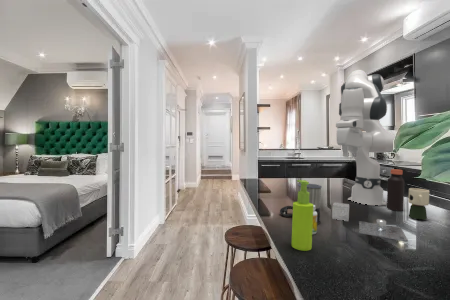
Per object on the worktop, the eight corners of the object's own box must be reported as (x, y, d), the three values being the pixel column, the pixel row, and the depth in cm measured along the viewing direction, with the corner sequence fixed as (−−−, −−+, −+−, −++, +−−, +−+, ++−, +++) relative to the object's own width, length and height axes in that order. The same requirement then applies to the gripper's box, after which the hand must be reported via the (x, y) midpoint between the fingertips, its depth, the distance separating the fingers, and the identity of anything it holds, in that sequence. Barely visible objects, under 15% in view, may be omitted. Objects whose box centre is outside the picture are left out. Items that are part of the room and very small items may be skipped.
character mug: (405, 214, 114) (407, 186, 114) (425, 217, 110) (427, 188, 110) (409, 220, 105) (410, 190, 104) (430, 223, 101) (432, 192, 101)
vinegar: (406, 211, 120) (408, 170, 119) (392, 210, 120) (394, 170, 119) (396, 207, 127) (398, 169, 126) (383, 207, 127) (385, 168, 126)
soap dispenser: (306, 241, 78) (308, 179, 78) (314, 251, 72) (317, 182, 71) (288, 241, 78) (290, 178, 78) (294, 250, 71) (297, 182, 71)
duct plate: (359, 222, 100) (359, 212, 100) (400, 229, 93) (401, 218, 93) (359, 233, 88) (360, 221, 87) (407, 241, 81) (408, 229, 81)
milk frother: (322, 226, 94) (324, 187, 93) (280, 222, 97) (281, 185, 97) (316, 215, 108) (317, 182, 107) (279, 212, 111) (280, 180, 111)
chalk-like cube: (333, 215, 109) (333, 202, 109) (348, 217, 106) (349, 204, 106) (331, 218, 104) (332, 205, 104) (348, 221, 101) (349, 207, 101)
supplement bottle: (317, 231, 88) (318, 204, 88) (315, 235, 84) (316, 207, 83) (302, 228, 91) (303, 202, 91) (299, 232, 86) (300, 205, 86)
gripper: (352, 127, 115) (351, 156, 115) (334, 122, 101) (332, 156, 101) (367, 126, 110) (366, 157, 110) (350, 121, 96) (348, 157, 96)
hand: (350, 156), depth 105 cm, fingers open, 8 cm apart
